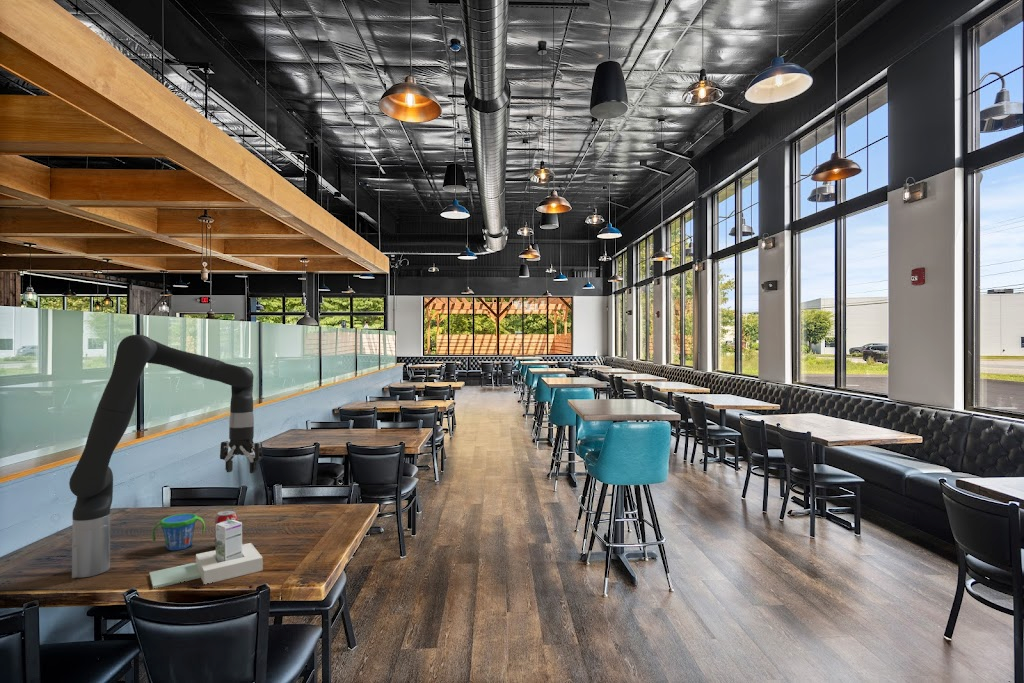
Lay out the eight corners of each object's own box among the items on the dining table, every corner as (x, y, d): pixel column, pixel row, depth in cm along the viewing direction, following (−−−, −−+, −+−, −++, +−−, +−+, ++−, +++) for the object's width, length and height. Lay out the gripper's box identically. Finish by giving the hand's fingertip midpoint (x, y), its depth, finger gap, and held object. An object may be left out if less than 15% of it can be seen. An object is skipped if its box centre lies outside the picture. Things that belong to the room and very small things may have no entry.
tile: (153, 589, 153) (153, 586, 153) (149, 574, 163) (149, 572, 163) (200, 577, 161) (200, 575, 161) (194, 564, 170) (194, 562, 170)
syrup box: (243, 567, 168) (243, 521, 168) (224, 574, 163) (224, 526, 163) (233, 563, 171) (233, 518, 171) (214, 570, 166) (214, 523, 166)
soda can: (222, 552, 181) (222, 516, 181) (210, 548, 184) (210, 513, 185) (242, 545, 187) (242, 511, 187) (230, 541, 190) (230, 508, 191)
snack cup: (148, 555, 178) (148, 525, 178) (157, 544, 188) (157, 515, 188) (201, 549, 183) (201, 520, 183) (207, 539, 193) (207, 511, 193)
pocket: (204, 584, 156) (204, 571, 156) (195, 566, 169) (195, 554, 169) (262, 570, 166) (262, 557, 166) (250, 554, 178) (250, 542, 178)
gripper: (215, 426, 180) (214, 474, 180) (254, 427, 178) (253, 475, 178) (229, 423, 188) (229, 469, 187) (267, 424, 186) (266, 470, 186)
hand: (241, 472), depth 183 cm, fingers open, 8 cm apart
